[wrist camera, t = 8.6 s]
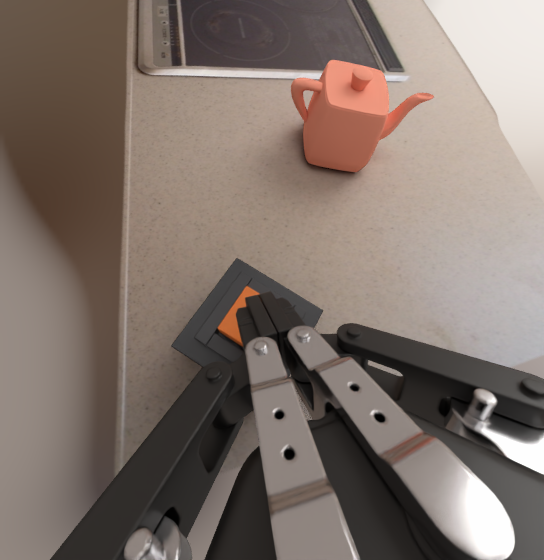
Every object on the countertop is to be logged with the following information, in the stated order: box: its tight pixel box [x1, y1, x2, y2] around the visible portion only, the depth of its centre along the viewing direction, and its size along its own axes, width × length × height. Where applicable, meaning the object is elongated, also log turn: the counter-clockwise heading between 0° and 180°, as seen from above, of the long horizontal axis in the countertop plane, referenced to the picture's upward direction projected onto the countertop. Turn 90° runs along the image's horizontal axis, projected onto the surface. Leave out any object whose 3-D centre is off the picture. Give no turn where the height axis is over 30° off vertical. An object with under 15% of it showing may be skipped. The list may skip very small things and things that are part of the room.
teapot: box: [291, 60, 434, 172], centre depth 33 cm, size 12×18×10 cm, turn 84°
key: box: [218, 286, 260, 347], centre depth 19 cm, size 4×4×2 cm
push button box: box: [172, 258, 323, 377], centre depth 23 cm, size 10×10×7 cm
